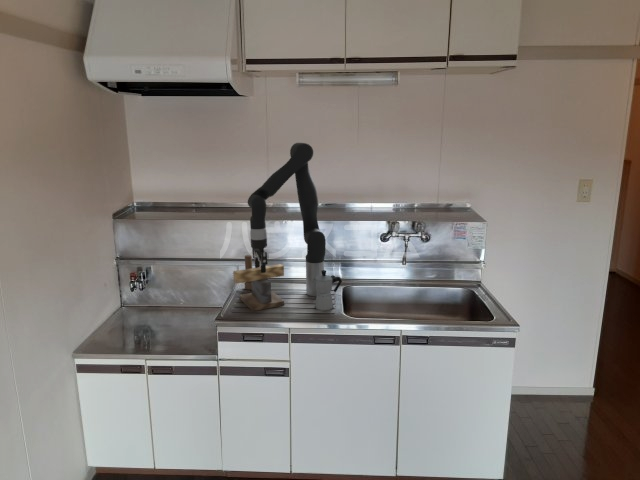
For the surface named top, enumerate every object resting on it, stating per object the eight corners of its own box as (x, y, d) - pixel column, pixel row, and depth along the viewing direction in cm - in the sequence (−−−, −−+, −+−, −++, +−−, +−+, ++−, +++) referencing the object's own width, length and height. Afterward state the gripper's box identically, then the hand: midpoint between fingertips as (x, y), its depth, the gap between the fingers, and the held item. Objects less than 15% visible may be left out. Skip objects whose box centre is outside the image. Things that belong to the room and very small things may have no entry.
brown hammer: (262, 291, 249) (261, 258, 244) (244, 289, 253) (242, 256, 248) (266, 289, 252) (264, 256, 248) (248, 287, 256) (246, 254, 252)
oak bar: (281, 273, 239) (281, 264, 238) (284, 275, 236) (283, 265, 235) (233, 281, 229) (233, 271, 228) (236, 283, 226) (235, 273, 225)
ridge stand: (270, 293, 247) (269, 270, 244) (284, 305, 231) (283, 281, 228) (240, 298, 240) (238, 275, 237) (251, 311, 224) (250, 286, 221)
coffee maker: (312, 311, 223) (312, 274, 218) (309, 304, 231) (308, 268, 227) (344, 309, 226) (344, 272, 221) (339, 302, 234) (339, 266, 230)
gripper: (271, 239, 223) (273, 273, 227) (261, 233, 235) (262, 265, 239) (256, 241, 220) (257, 275, 224) (246, 235, 232) (248, 267, 236)
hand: (260, 270), depth 232 cm, fingers open, 8 cm apart
